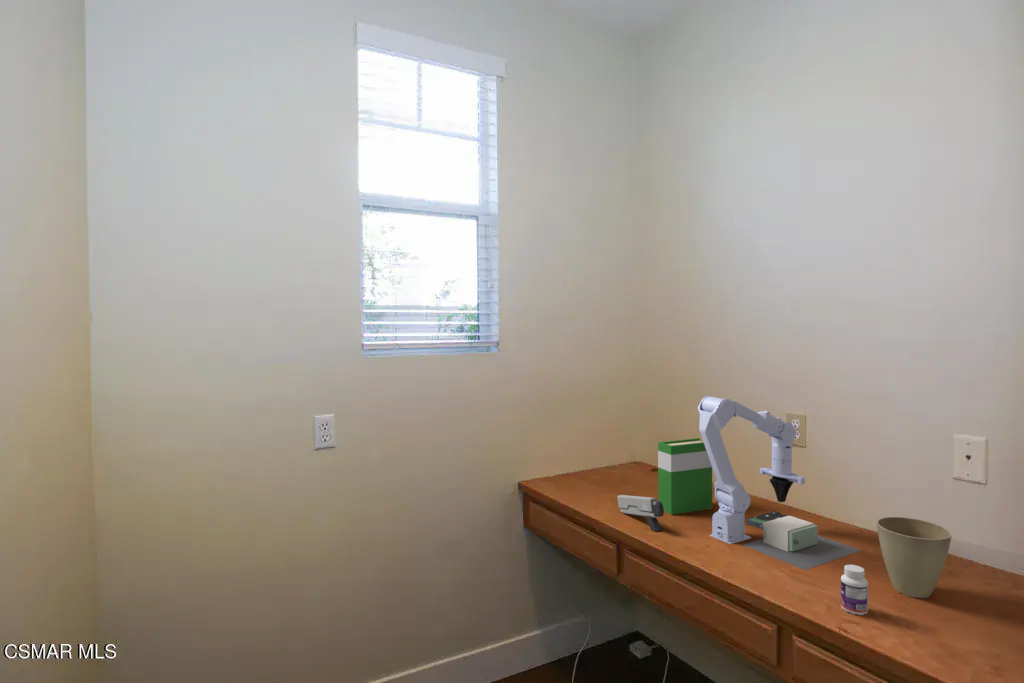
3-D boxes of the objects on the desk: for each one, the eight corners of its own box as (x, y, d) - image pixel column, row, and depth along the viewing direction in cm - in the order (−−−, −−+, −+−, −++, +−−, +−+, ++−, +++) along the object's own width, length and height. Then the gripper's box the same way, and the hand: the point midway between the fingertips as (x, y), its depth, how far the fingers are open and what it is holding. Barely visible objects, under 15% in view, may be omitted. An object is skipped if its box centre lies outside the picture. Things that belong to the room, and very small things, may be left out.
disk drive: (774, 518, 192) (745, 526, 184) (774, 510, 192) (746, 518, 184) (803, 527, 183) (774, 536, 175) (803, 519, 183) (774, 527, 175)
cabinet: (787, 551, 161) (787, 530, 161) (763, 542, 168) (763, 522, 168) (813, 543, 167) (813, 523, 167) (788, 534, 174) (789, 515, 174)
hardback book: (698, 502, 208) (698, 438, 207) (712, 508, 201) (712, 441, 200) (658, 508, 201) (658, 442, 201) (671, 515, 194) (671, 446, 194)
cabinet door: (794, 552, 160) (794, 533, 160) (788, 550, 161) (788, 531, 161) (821, 544, 166) (821, 526, 165) (815, 542, 167) (815, 524, 167)
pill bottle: (842, 601, 133) (843, 561, 133) (869, 608, 130) (869, 567, 129) (838, 610, 129) (838, 569, 129) (866, 618, 125) (866, 575, 125)
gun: (661, 532, 175) (657, 499, 177) (619, 524, 198) (616, 495, 200) (668, 531, 176) (664, 498, 178) (625, 523, 199) (622, 494, 201)
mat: (805, 571, 149) (805, 570, 149) (741, 546, 167) (741, 544, 167) (861, 551, 162) (861, 550, 162) (797, 529, 179) (797, 528, 179)
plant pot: (869, 591, 138) (869, 527, 137) (884, 572, 148) (884, 512, 148) (945, 613, 127) (946, 543, 127) (955, 591, 138) (956, 526, 137)
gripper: (811, 461, 174) (811, 505, 174) (769, 452, 186) (769, 493, 187) (796, 464, 170) (796, 509, 171) (755, 455, 183) (755, 496, 183)
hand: (781, 501), depth 178 cm, fingers closed
